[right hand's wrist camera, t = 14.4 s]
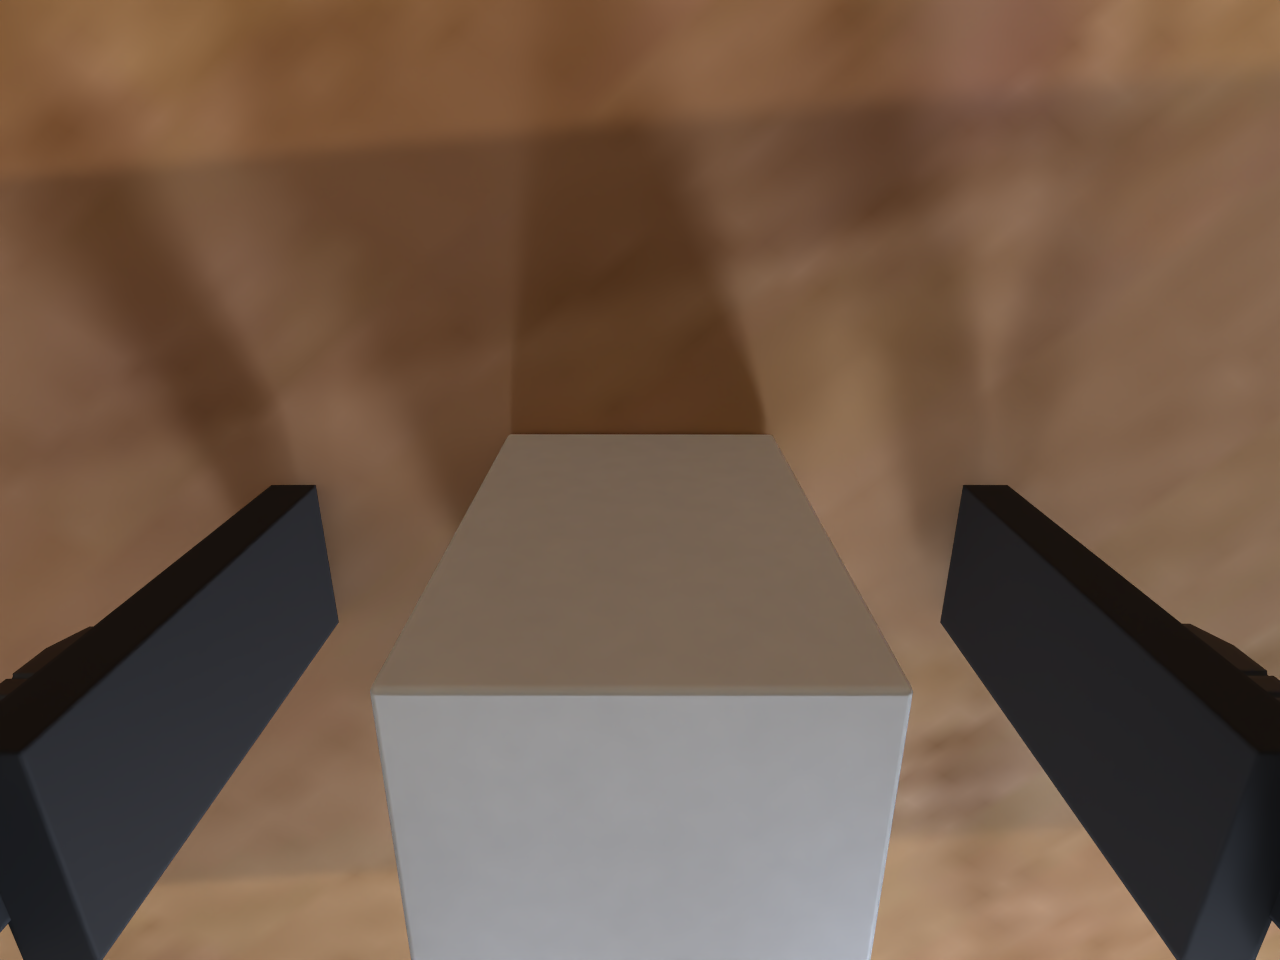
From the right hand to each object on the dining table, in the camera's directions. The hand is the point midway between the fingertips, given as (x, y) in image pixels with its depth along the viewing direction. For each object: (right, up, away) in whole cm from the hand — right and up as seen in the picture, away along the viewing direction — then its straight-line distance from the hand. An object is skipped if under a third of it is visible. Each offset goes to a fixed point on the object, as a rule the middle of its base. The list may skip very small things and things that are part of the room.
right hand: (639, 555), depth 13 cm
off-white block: (0, 0, 0) cm, 0 cm away
